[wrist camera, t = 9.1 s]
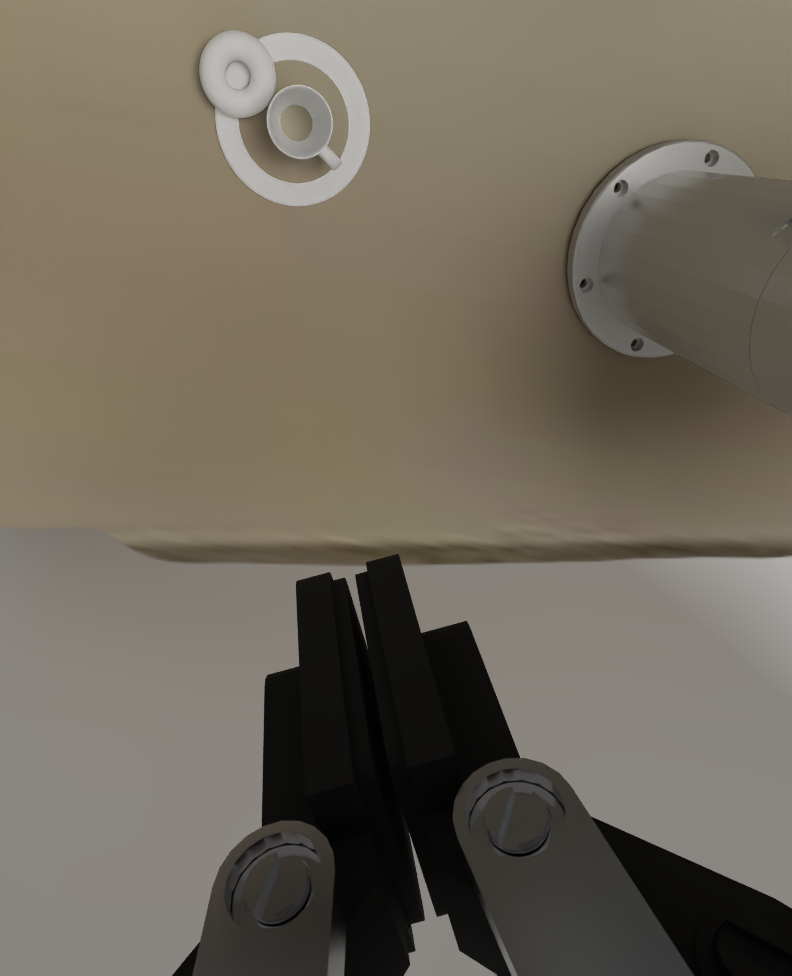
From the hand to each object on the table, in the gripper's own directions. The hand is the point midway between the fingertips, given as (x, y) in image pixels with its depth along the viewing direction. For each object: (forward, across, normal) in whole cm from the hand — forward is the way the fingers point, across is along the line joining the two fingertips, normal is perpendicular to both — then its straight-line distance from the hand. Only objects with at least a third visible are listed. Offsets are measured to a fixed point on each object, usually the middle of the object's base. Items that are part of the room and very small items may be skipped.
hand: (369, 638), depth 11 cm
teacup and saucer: (+33, -3, -10) cm, 34 cm away
